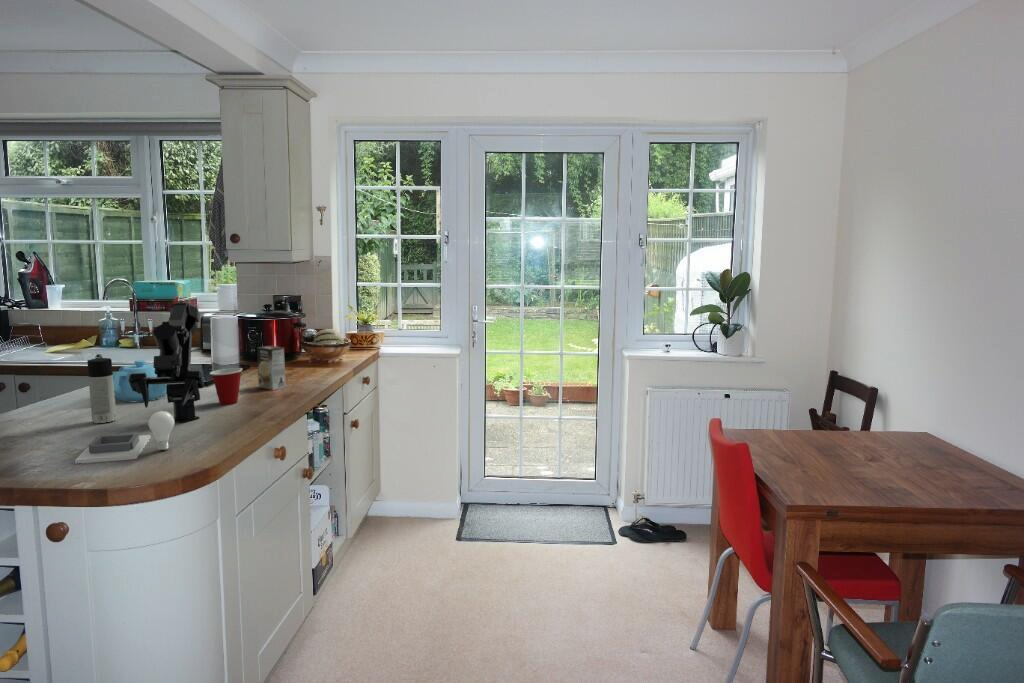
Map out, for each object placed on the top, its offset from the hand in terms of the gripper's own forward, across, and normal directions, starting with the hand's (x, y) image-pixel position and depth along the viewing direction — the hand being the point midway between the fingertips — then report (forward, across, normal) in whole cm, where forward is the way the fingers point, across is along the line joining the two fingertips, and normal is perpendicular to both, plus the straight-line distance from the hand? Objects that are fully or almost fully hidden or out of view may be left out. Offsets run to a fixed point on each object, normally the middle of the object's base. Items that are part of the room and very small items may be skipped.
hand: (164, 405), depth 190 cm
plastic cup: (-28, +10, +43) cm, 52 cm away
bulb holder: (+9, -13, +7) cm, 17 cm away
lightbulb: (+12, 0, +5) cm, 13 cm away
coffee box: (-44, +24, +60) cm, 78 cm away
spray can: (-15, -24, +31) cm, 42 cm away
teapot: (-39, -20, +55) cm, 71 cm away
